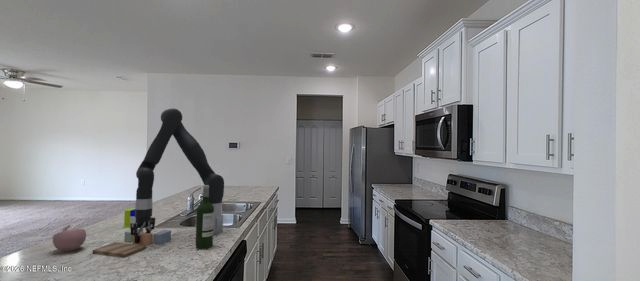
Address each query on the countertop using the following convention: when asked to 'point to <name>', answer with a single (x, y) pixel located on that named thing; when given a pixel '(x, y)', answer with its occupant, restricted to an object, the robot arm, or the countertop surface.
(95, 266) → the countertop surface
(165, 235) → the slate brick
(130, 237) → the sage brick
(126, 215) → the puzzle toy
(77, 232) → the mortar and pestle
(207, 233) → the wine bottle
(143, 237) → the terracotta brick
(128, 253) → the walnut board
